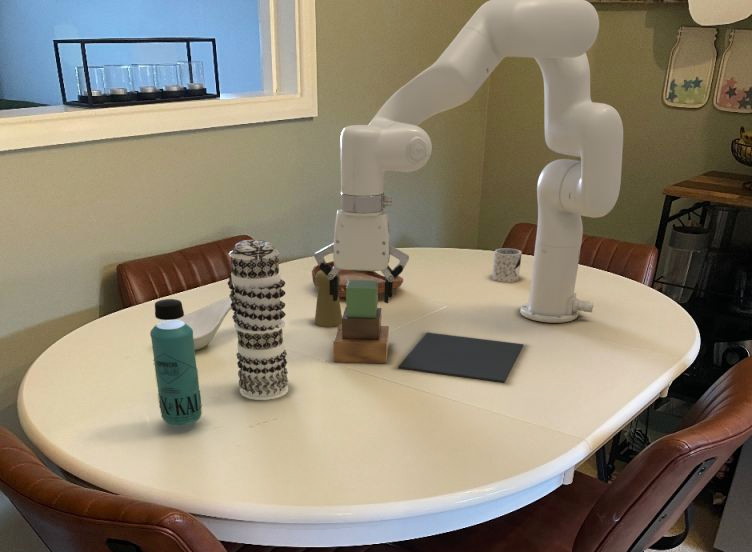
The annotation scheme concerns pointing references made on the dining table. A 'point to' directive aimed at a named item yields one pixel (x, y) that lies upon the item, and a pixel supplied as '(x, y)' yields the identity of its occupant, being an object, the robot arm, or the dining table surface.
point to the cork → (326, 303)
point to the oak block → (361, 348)
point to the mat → (463, 357)
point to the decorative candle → (258, 319)
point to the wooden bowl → (357, 278)
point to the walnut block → (361, 327)
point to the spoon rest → (206, 321)
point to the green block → (361, 298)
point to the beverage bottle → (175, 365)
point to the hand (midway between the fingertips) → (361, 300)
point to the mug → (506, 265)
